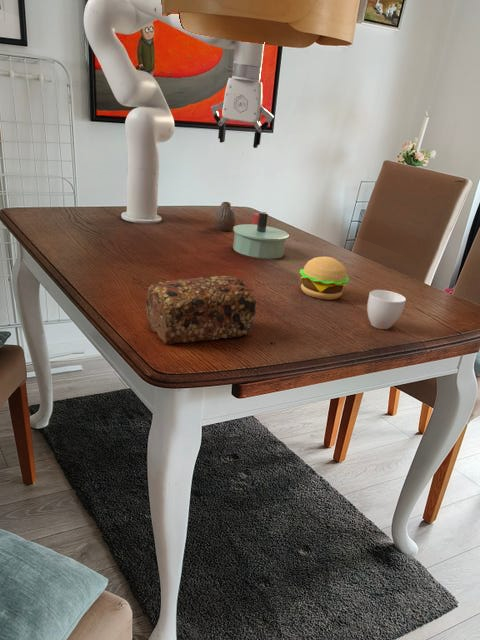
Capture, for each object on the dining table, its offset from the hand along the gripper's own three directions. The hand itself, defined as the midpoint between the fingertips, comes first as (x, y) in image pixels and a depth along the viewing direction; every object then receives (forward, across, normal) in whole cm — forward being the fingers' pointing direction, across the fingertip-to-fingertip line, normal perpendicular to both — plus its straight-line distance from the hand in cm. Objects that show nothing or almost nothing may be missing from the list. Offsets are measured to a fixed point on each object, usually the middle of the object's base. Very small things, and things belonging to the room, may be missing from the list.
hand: (238, 144), depth 163 cm
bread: (+26, +12, -74) cm, 80 cm away
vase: (+26, -4, +10) cm, 29 cm away
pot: (+26, +11, -8) cm, 30 cm away
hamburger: (+26, +32, -36) cm, 55 cm away
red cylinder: (+26, +7, +10) cm, 29 cm away
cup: (+26, +46, -50) cm, 73 cm away
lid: (+21, +11, -8) cm, 25 cm away
